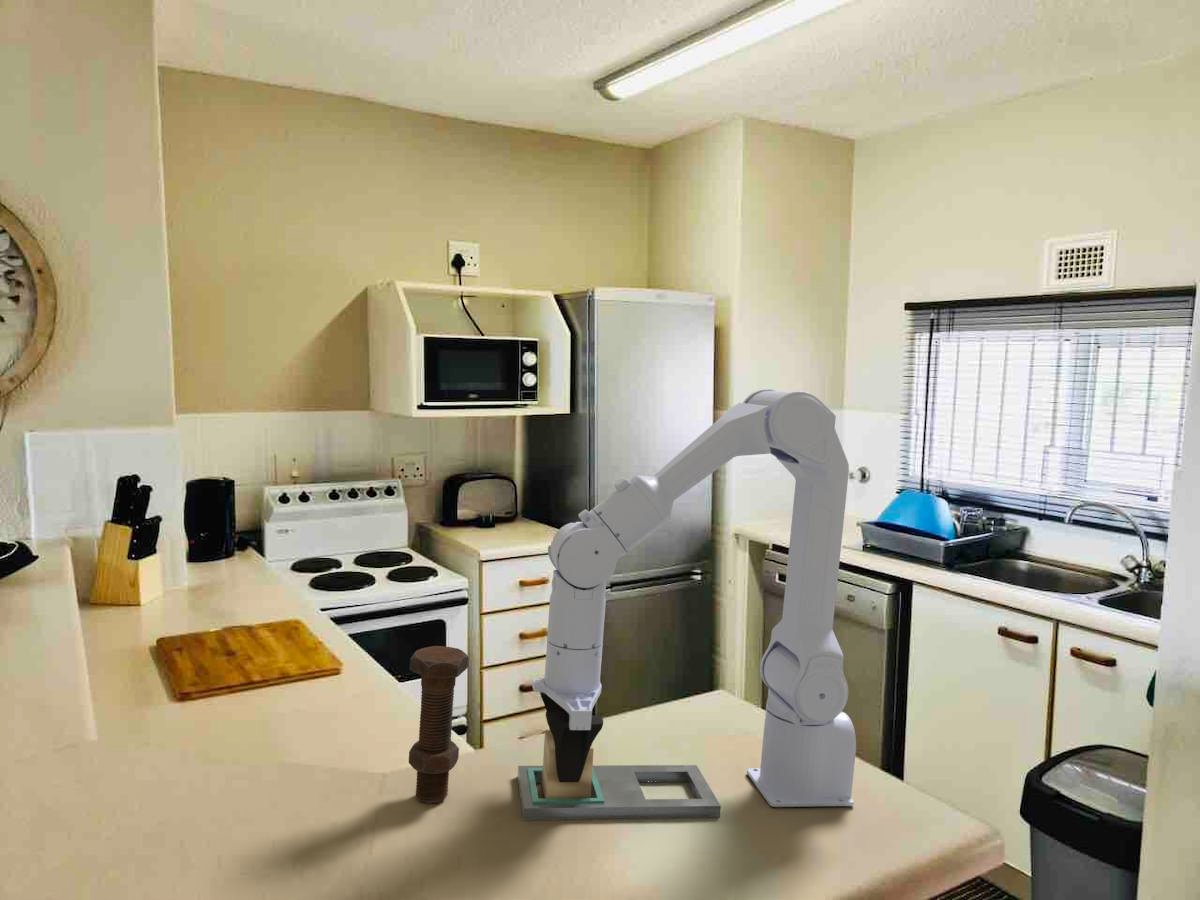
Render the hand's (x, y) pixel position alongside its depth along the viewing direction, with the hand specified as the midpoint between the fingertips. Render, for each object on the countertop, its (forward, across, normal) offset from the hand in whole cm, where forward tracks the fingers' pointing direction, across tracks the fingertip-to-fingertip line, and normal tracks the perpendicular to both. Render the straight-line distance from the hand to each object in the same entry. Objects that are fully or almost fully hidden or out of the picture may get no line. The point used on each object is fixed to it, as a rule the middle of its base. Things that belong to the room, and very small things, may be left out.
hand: (565, 769), depth 87 cm
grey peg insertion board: (+3, 0, +6) cm, 6 cm away
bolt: (+3, 0, -14) cm, 14 cm away
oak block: (+3, 0, 0) cm, 3 cm away
